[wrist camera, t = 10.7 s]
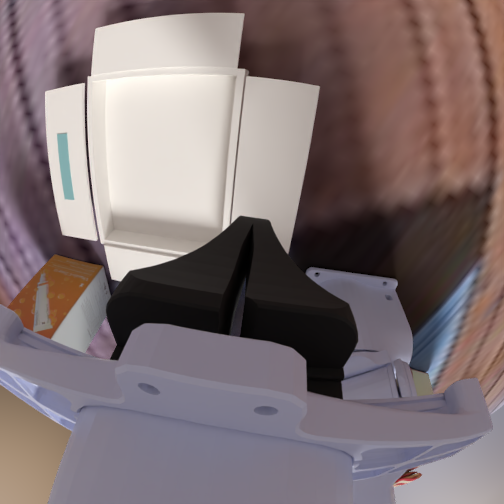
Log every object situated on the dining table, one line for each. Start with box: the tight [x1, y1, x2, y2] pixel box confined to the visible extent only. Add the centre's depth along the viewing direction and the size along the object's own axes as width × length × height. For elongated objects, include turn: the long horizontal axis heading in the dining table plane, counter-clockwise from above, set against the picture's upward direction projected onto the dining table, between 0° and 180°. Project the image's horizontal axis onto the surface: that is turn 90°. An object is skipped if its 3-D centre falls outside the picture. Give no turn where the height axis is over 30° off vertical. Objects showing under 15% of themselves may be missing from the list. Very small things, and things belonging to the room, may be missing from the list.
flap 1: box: [45, 83, 98, 241], centre depth 19 cm, size 4×14×1 cm, turn 174°
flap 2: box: [231, 76, 320, 254], centre depth 18 cm, size 4×14×1 cm, turn 175°
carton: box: [87, 13, 249, 281], centre depth 20 cm, size 12×23×2 cm, turn 174°
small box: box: [7, 254, 111, 353], centre depth 24 cm, size 8×6×13 cm
